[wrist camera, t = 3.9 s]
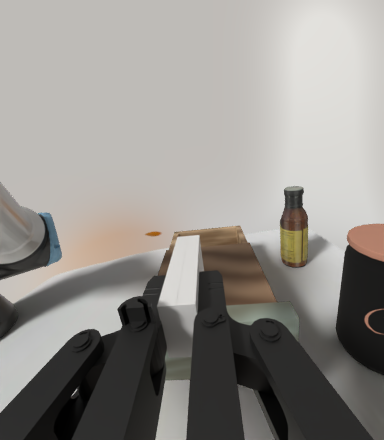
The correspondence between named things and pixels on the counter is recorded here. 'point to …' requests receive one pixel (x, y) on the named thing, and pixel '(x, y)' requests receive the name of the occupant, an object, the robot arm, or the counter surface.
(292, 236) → the sauce bottle
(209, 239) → the chest
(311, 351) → the counter surface
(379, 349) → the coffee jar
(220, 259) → the lid
